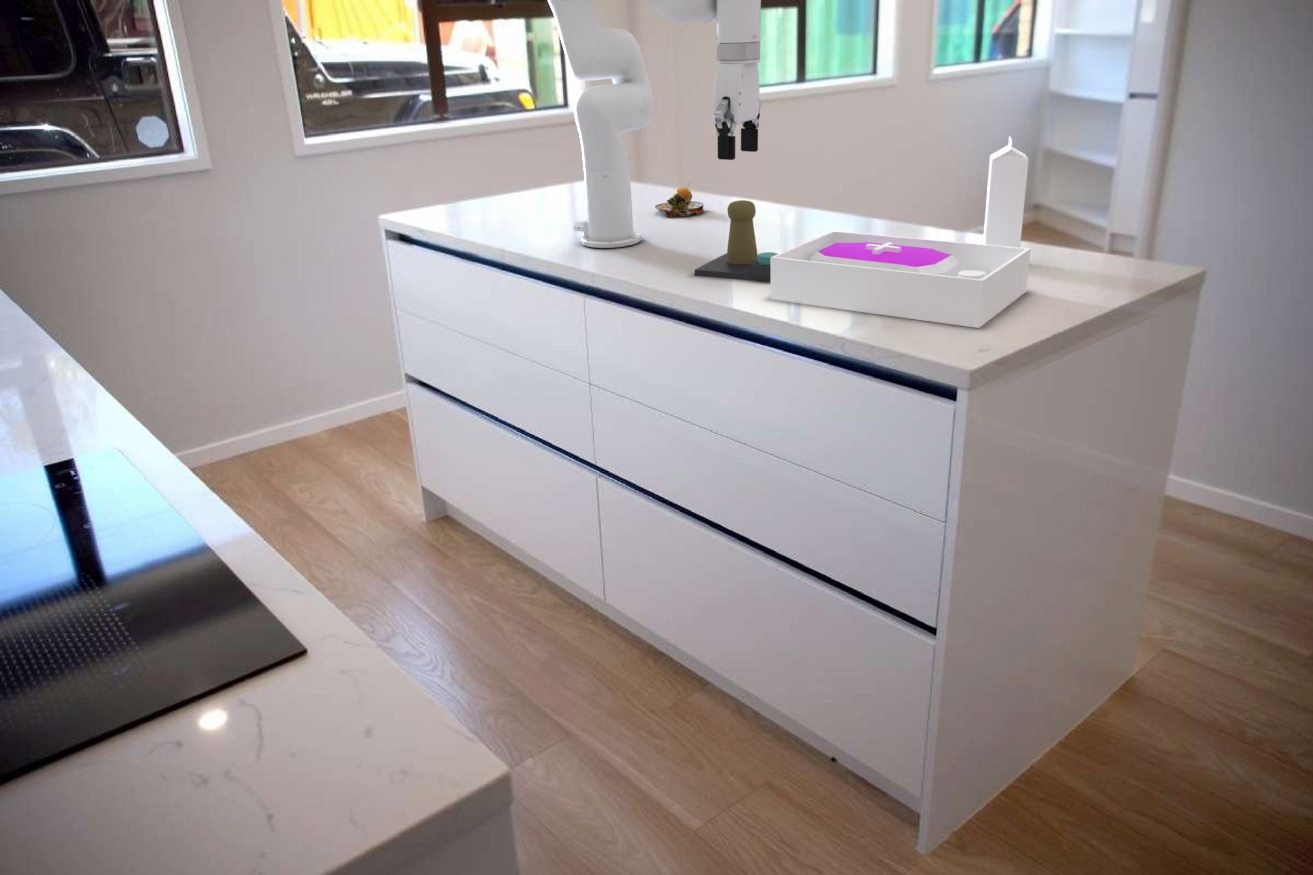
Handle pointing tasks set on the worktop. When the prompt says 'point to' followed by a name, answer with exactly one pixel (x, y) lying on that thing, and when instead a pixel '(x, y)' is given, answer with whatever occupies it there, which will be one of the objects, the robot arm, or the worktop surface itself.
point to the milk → (1005, 197)
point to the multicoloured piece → (680, 204)
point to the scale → (735, 270)
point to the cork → (741, 233)
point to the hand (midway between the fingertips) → (738, 155)
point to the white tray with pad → (902, 277)
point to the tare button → (765, 258)
